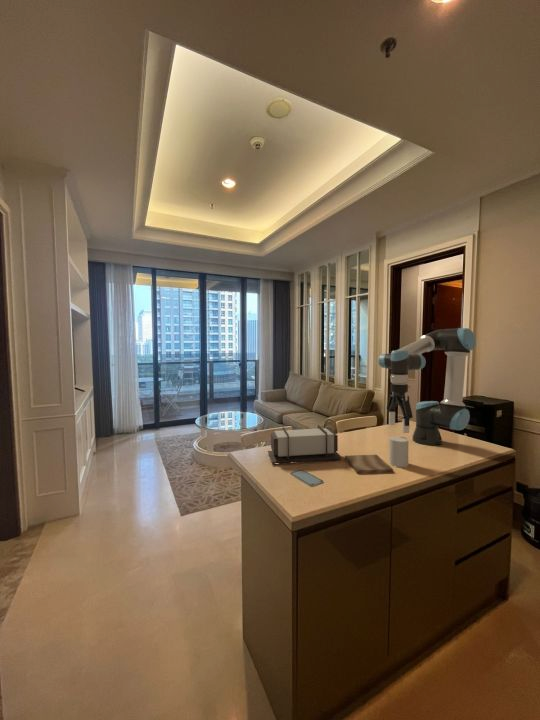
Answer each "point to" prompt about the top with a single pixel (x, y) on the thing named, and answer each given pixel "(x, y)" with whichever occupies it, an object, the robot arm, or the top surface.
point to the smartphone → (306, 478)
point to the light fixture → (304, 445)
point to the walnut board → (368, 464)
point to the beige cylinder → (399, 451)
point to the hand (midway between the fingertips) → (398, 428)
